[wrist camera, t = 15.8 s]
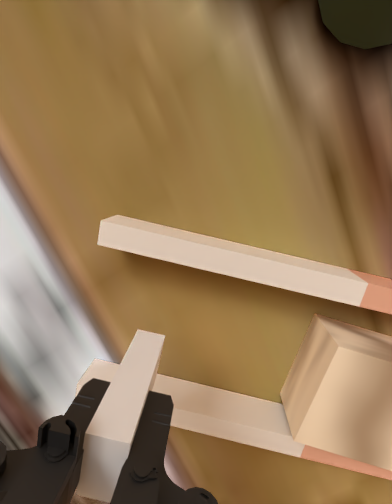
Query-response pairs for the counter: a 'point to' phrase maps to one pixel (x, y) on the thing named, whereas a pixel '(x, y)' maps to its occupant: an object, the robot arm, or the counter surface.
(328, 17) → the character mug
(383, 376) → the maple block
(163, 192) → the counter surface
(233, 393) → the channel
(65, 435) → the robot arm
